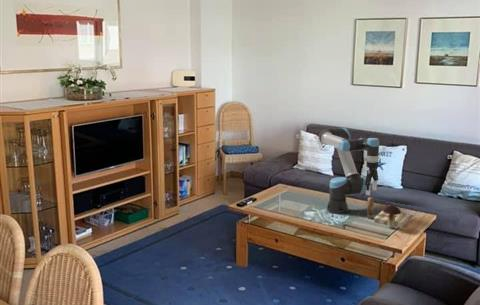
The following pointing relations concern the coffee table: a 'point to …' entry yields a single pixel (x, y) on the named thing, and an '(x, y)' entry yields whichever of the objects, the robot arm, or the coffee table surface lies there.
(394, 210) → the decorative mushroom
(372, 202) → the peg
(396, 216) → the board
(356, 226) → the coffee table surface
